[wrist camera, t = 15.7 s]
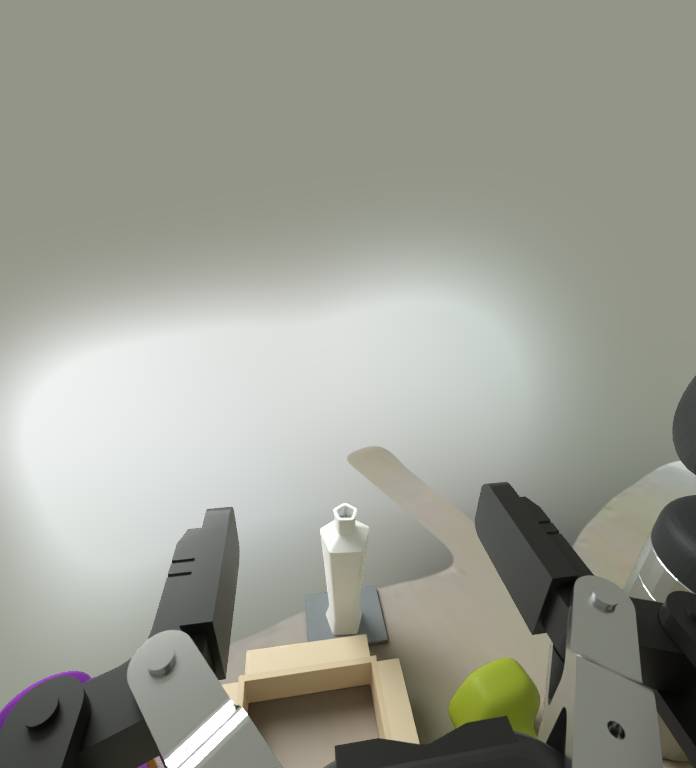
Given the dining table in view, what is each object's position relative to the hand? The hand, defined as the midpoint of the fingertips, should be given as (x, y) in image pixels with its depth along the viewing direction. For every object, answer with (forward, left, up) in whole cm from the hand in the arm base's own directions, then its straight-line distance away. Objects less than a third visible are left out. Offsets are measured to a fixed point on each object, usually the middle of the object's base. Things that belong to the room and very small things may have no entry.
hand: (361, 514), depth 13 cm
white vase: (-2, -17, -32) cm, 36 cm away
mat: (-2, -17, -32) cm, 36 cm away
